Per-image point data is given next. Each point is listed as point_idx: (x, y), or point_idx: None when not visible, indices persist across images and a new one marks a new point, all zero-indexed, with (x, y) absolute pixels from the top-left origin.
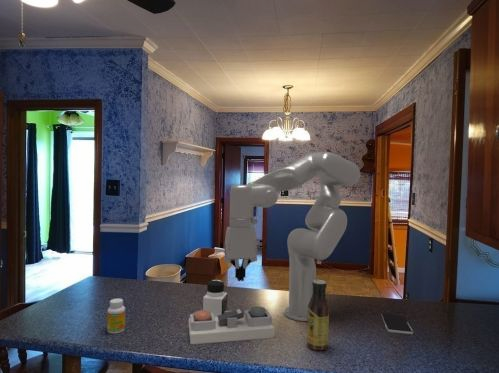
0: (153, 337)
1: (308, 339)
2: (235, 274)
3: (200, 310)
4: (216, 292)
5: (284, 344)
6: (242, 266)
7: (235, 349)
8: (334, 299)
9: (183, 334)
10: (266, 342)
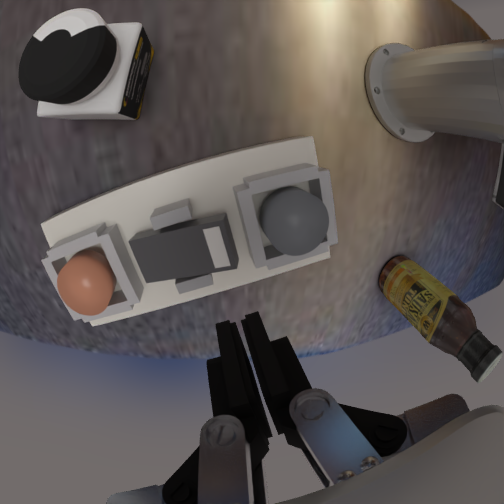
0: (13, 283)
1: (387, 294)
2: (210, 377)
3: (66, 269)
4: (78, 100)
5: (335, 277)
6: (293, 443)
7: (214, 318)
8: (461, 29)
9: None
10: (294, 274)
